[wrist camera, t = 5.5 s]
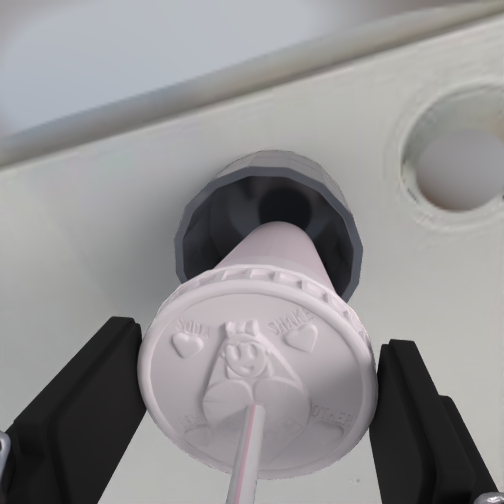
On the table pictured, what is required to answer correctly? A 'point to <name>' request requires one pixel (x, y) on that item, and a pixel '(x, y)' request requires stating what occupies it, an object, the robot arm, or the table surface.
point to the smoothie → (260, 364)
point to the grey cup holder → (270, 215)
